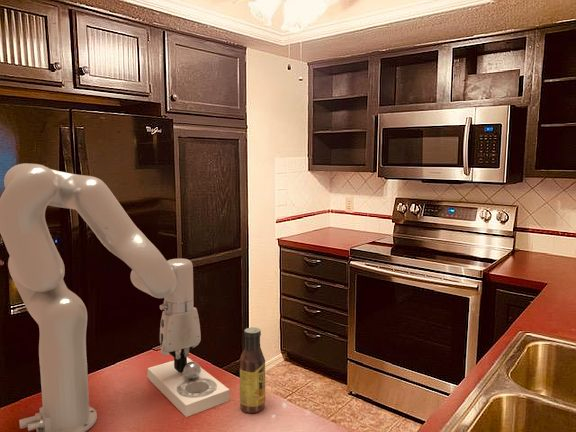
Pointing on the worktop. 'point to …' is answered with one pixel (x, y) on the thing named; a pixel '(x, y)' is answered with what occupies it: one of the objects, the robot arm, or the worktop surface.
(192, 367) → the ball
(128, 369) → the worktop surface
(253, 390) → the sauce bottle
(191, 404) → the deck
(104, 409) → the worktop surface
